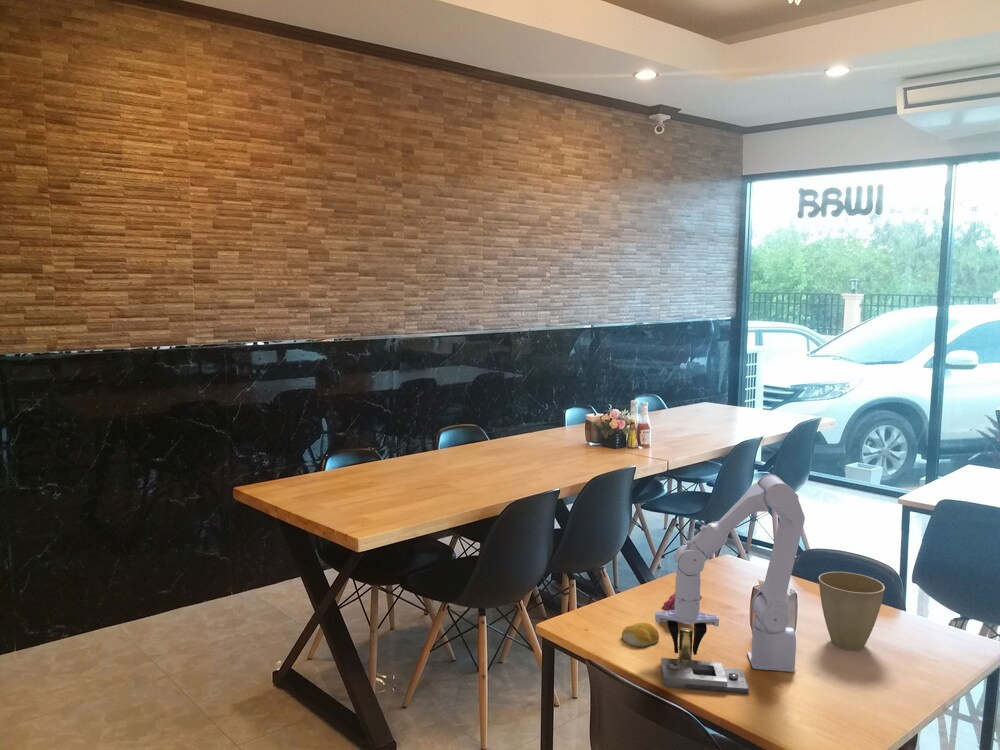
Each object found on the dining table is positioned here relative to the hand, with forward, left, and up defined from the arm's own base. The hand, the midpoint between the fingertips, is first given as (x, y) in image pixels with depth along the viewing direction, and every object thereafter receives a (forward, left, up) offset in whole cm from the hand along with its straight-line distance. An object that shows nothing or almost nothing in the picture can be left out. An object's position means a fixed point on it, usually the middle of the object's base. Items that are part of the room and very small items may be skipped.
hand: (685, 652), depth 181 cm
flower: (-1, -24, -2) cm, 24 cm away
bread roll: (+10, -9, -2) cm, 14 cm away
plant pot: (-41, -15, -2) cm, 44 cm away
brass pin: (0, 0, -2) cm, 2 cm away
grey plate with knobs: (-3, +10, -2) cm, 11 cm away
